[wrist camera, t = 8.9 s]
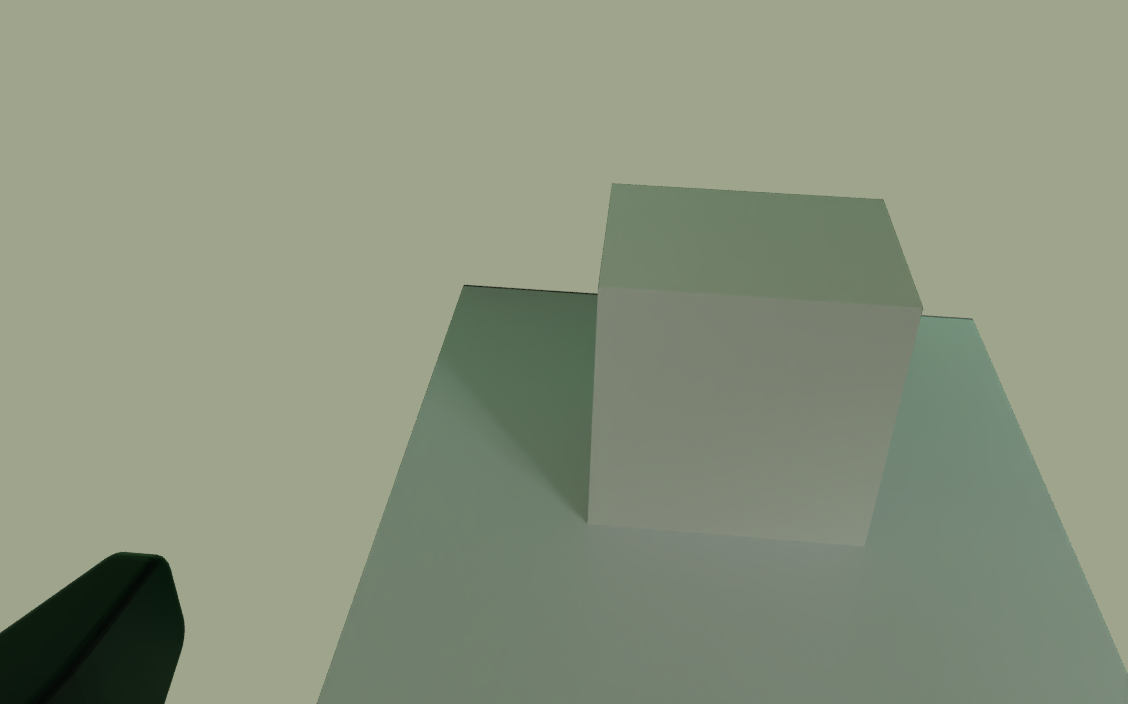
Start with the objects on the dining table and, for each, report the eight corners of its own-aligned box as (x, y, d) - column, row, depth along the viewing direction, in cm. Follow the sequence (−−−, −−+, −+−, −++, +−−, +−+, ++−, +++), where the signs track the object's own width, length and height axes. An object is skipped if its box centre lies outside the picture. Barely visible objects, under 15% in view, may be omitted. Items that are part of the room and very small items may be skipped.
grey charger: (1027, 122, 8) (1576, 873, 3) (885, 632, 11) (1046, 1411, 6) (456, 91, 9) (124, 730, 3) (475, 597, 12) (315, 1312, 7)
